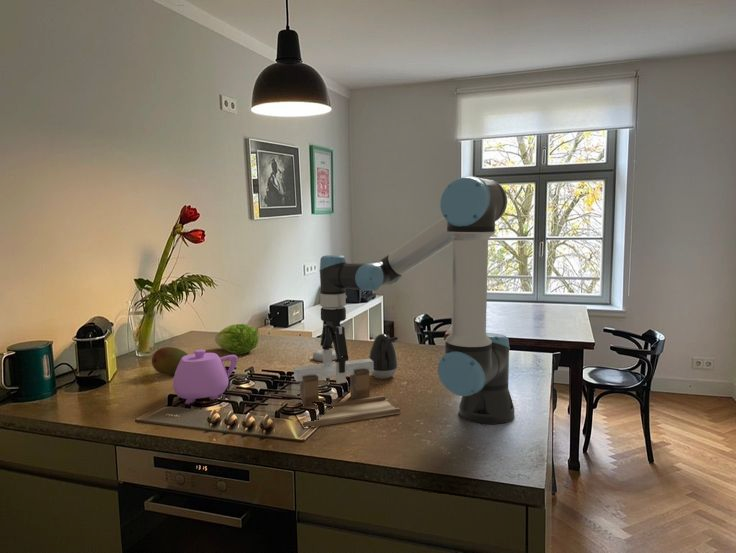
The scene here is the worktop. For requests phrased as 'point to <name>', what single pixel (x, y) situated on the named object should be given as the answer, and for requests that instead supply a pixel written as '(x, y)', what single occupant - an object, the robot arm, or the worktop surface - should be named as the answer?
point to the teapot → (202, 375)
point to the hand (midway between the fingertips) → (334, 376)
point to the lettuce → (237, 338)
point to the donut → (319, 355)
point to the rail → (332, 369)
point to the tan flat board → (354, 411)
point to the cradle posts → (357, 387)
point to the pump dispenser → (384, 356)
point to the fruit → (167, 359)
